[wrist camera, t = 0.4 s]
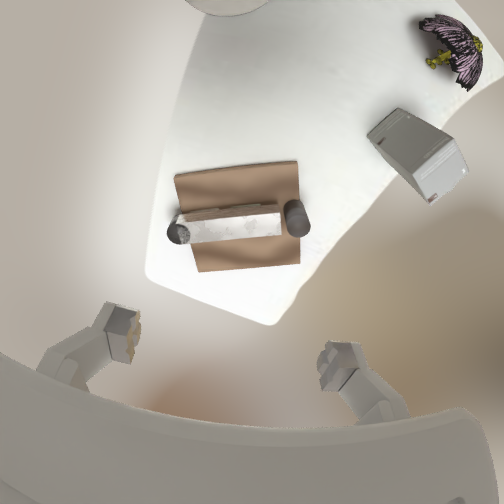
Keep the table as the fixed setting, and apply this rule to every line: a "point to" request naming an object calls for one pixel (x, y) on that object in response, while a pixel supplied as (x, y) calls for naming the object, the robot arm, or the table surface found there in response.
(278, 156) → the table surface
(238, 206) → the label board
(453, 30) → the decorative flower
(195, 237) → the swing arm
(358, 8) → the table surface
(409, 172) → the skincare box
